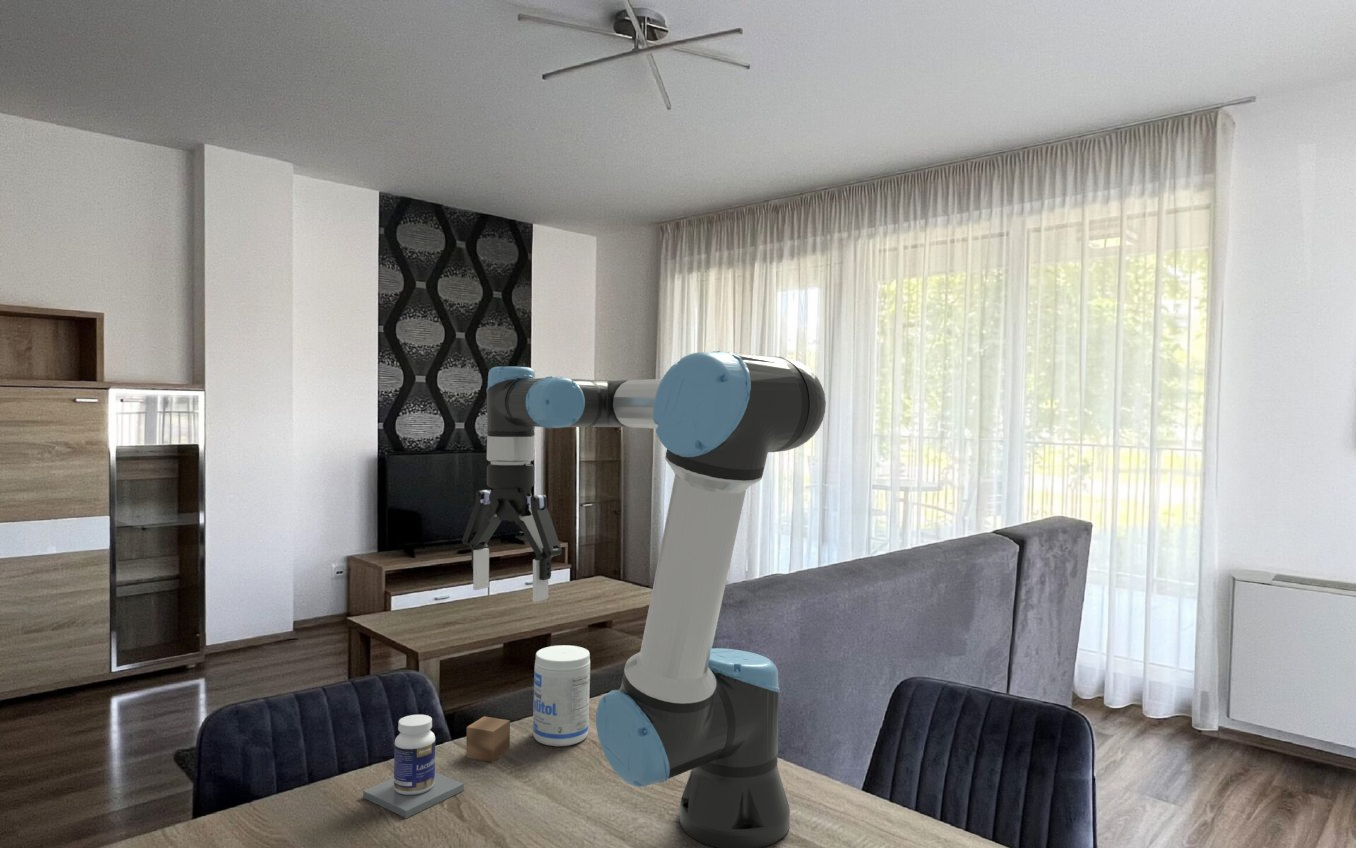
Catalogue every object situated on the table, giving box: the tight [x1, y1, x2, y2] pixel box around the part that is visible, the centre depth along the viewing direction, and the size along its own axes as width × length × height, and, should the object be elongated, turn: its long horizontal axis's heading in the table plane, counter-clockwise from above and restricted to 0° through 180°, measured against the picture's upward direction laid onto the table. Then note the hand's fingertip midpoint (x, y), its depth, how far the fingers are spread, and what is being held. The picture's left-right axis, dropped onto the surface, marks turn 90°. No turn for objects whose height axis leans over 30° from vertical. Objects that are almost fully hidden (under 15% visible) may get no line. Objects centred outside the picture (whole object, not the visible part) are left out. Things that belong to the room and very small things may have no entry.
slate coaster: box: [362, 771, 465, 819], centre depth 118 cm, size 10×10×1 cm
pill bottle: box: [393, 714, 436, 795], centre depth 118 cm, size 6×6×10 cm
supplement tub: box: [532, 644, 591, 747], centre depth 139 cm, size 10×10×15 cm
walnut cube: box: [465, 715, 511, 763], centre depth 132 cm, size 5×5×5 cm
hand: (509, 594), depth 130 cm, fingers open, 13 cm apart
